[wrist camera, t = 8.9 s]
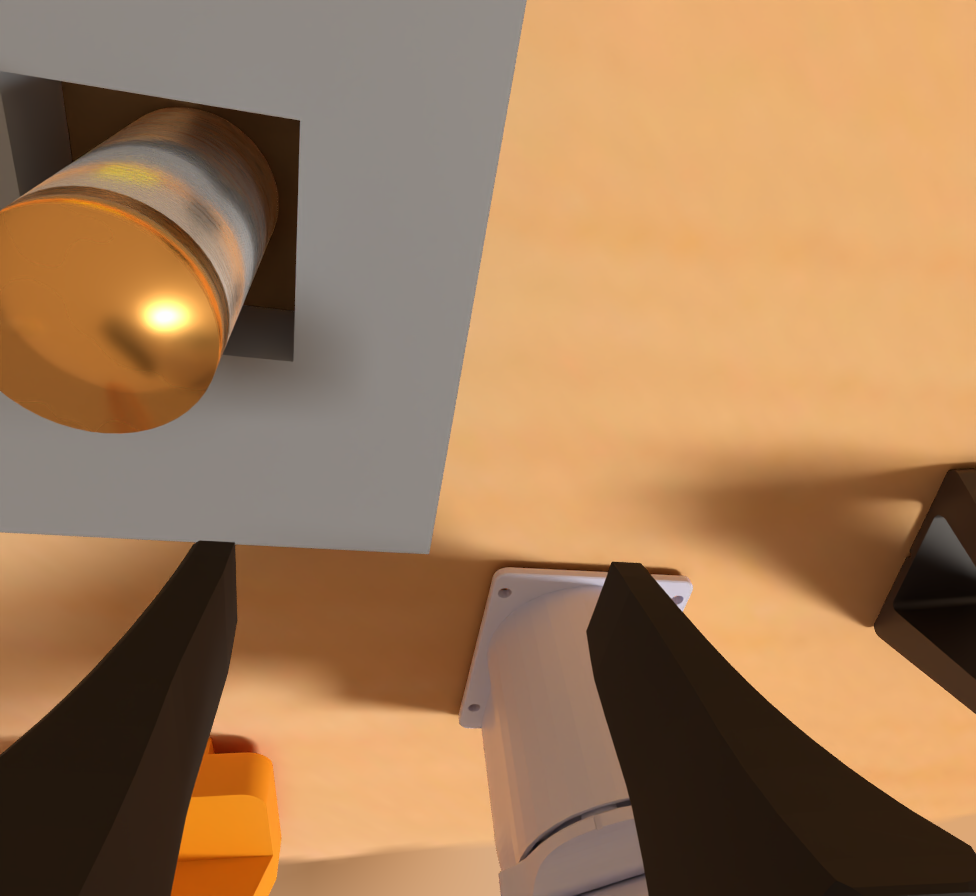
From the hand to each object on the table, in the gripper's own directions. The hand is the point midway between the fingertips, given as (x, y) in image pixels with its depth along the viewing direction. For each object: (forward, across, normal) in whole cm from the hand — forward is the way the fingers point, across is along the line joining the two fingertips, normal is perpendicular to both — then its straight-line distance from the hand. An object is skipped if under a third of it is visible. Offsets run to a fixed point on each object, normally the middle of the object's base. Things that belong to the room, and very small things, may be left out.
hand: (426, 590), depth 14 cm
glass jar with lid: (+9, +6, -4) cm, 12 cm away
